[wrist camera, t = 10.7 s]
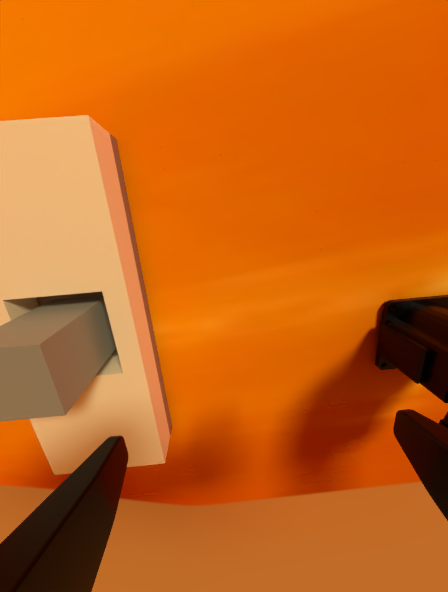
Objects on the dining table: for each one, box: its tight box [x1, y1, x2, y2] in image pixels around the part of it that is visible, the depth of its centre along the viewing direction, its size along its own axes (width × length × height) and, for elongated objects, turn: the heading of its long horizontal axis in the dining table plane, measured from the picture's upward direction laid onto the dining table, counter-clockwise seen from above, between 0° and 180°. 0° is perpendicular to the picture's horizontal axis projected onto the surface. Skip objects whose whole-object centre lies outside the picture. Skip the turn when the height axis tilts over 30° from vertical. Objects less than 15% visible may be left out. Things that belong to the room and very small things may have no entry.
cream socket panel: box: [0, 115, 172, 475], centre depth 17 cm, size 9×24×4 cm, turn 4°
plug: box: [0, 296, 116, 422], centre depth 14 cm, size 4×4×7 cm
